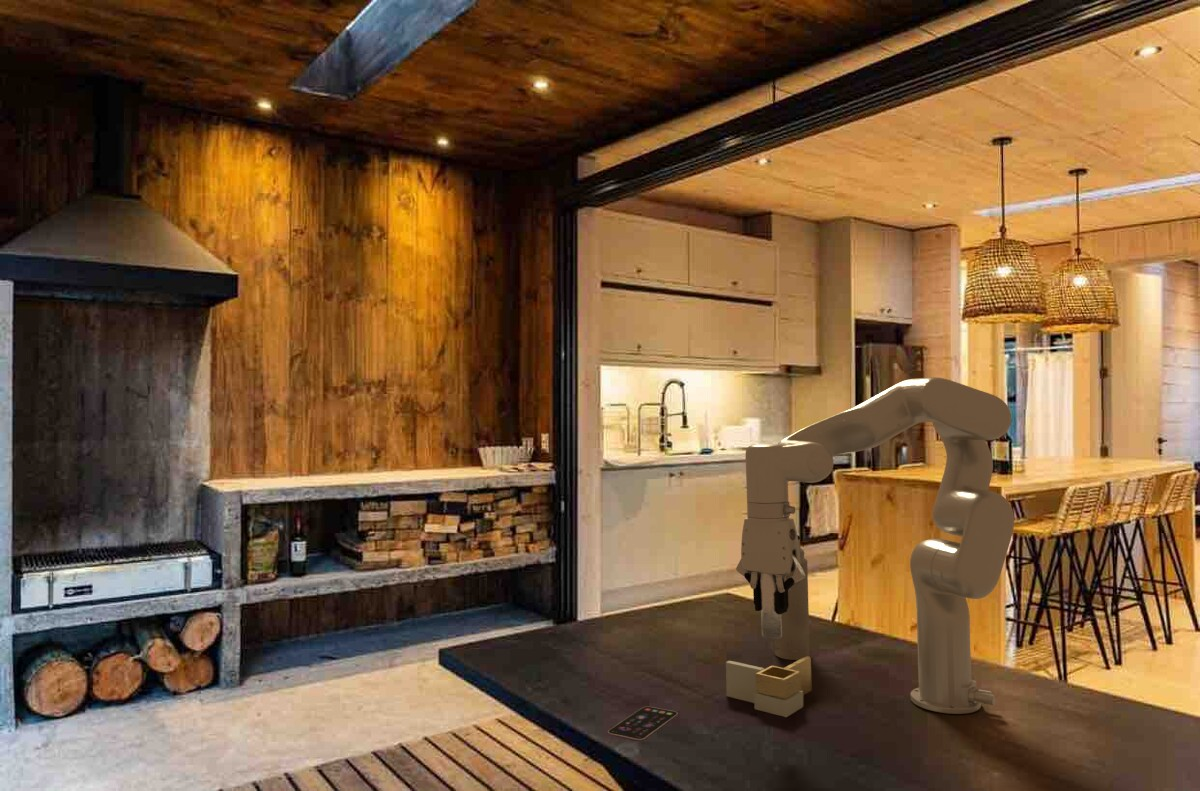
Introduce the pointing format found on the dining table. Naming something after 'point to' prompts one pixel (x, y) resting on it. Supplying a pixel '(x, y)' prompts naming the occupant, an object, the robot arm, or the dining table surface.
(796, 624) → the thermos bottle
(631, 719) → the smartphone
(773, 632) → the pin
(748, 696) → the loose leaf
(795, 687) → the fixed leaf
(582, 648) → the dining table surface
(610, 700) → the dining table surface
